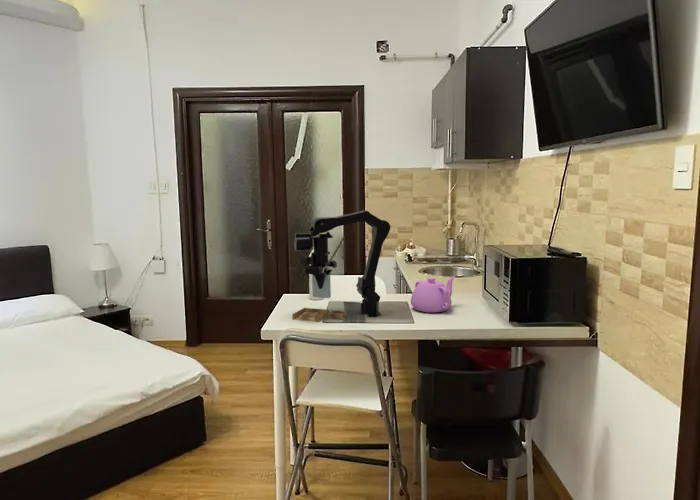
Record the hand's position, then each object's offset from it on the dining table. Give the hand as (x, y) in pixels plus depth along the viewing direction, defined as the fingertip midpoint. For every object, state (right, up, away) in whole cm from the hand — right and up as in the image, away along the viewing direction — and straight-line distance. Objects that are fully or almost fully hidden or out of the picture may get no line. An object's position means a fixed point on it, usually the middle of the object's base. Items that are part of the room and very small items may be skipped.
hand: (321, 288), depth 208 cm
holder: (+6, -12, -1) cm, 14 cm away
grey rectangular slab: (0, -4, +1) cm, 4 cm away
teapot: (+48, -10, +17) cm, 52 cm away
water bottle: (-5, -8, +37) cm, 38 cm away
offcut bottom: (-5, -12, -2) cm, 13 cm away
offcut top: (-4, -11, -2) cm, 12 cm away
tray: (-4, -12, 0) cm, 13 cm away
